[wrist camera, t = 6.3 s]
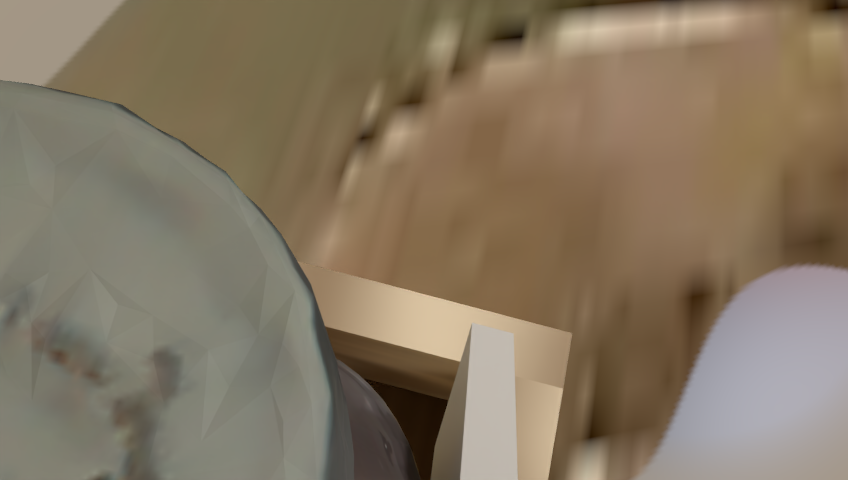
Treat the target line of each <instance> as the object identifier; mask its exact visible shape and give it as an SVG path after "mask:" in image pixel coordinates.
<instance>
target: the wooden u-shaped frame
mask: <svg viewBox="0 0 848 480" xmlns="http://www.w3.org/2000/svg"><path fill="white" fill-rule="evenodd" d="M297 262H298V263H299V265H300V267H301V268H302V270H303V272H304V273H305V275H306V277H307V278H308V280H309V282H310V283H311V286H312V289H313V292H314V295H315V298H316V301H317V304H318V307H319V310H320V313H321V316H322V319H323V322H324V325H325V328H326V331H327V334H328V337H329V340H330V343H331V346H332V349H333V351H334V354H335V357H336V359H338V360H340V361H341V362H343V363H344V364H345V365H347V366H348V367H349V368H351V369H352V370H353V371H355V372H356V373H357V374H359V375H360V376H361V377H362V378H365V379H368V380H372V381H376V382H380V383H384V384H387V385H391V386H395V387H399V388H403V389H407V390H410V391H414V392H418V393H422V394H426V395H430V396H433V397H437V398H441V399H445V400H449V397H450V394H451V391H452V387H453V384H454V381H455V378H456V374H457V371H458V368H459V364H460V361H461V358H462V354H463V351H464V348H465V344H466V341H467V338H468V335H469V331H470V328H471V325H472V323H475V324H479V325H483V326H487V327H491V328H495V329H499V330H502V331H506V332H510V333H514V363H515V399H516V435H517V470H518V480H548V476H549V470H550V464H551V458H552V452H553V446H554V440H555V434H556V428H557V422H558V416H559V410H560V404H561V398H562V392H563V386H564V380H565V374H566V368H567V362H568V356H569V350H570V344H571V338H572V333H569V332H565V331H561V330H558V329H554V328H550V327H546V326H542V325H539V324H535V323H531V322H527V321H523V320H520V319H516V318H512V317H508V316H504V315H501V314H497V313H493V312H489V311H485V310H482V309H478V308H474V307H470V306H466V305H463V304H459V303H455V302H451V301H447V300H444V299H440V298H436V297H432V296H428V295H425V294H421V293H417V292H413V291H409V290H406V289H402V288H398V287H394V286H390V285H387V284H383V283H379V282H375V281H371V280H367V279H364V278H360V277H356V276H352V275H348V274H345V273H341V272H337V271H333V270H329V269H326V268H322V267H318V266H314V265H310V264H307V263H303V262H299V261H297Z"/></svg>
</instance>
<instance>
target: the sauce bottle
mask: <svg viewBox="0 0 848 480" xmlns="http://www.w3.org/2000/svg"><path fill="white" fill-rule="evenodd" d="M0 480H421V478H420V475H419V472H418V468H417V465H416V462H415V459H414V456H413V453H412V450H411V447H410V444H409V442H408V440H407V439H406V437H405V435H404V433H403V431H402V429H401V427H400V425H399V423H398V421H397V420H396V418H395V417H394V415H393V414H392V412H391V411H390V409H389V408H388V406H387V405H386V403H385V402H384V401H383V399H382V398H381V397H380V396H379V395H378V394H377V393H376V391H375V390H374V389H373V388H372V387H371V386H370V385H369V384H368V383H367V382H366V381H365V380H364V379H363V378H362V377H361V376H360V375H359V374H357V373H356V372H355V371H353V370H352V369H351V368H349V367H348V366H347V365H345V364H344V363H343V362H341V361H340V360H338V359H336V357H335V354H334V351H333V349H332V346H331V343H330V340H329V337H328V334H327V331H326V328H325V325H324V322H323V319H322V316H321V313H320V310H319V307H318V304H317V301H316V298H315V295H314V292H313V289H312V286H311V283H310V282H309V280H308V278H307V277H306V275H305V273H304V272H303V270H302V268H301V267H300V265H299V263H298V262H297V260H296V258H295V257H294V255H293V253H292V252H291V250H290V248H289V247H288V245H287V243H286V242H285V240H284V238H283V237H282V235H281V233H280V232H279V231H278V230H277V228H276V227H275V226H274V225H273V223H272V222H271V221H270V220H269V218H268V217H267V216H266V215H265V214H264V212H263V211H262V210H261V209H260V208H259V207H258V206H257V205H256V204H255V203H254V202H253V201H251V200H250V199H249V198H248V197H247V196H246V195H245V194H244V193H242V191H241V190H240V189H239V188H238V186H237V185H236V184H235V183H234V181H233V180H232V179H231V178H230V176H229V175H228V174H227V173H226V171H224V170H222V169H221V168H219V167H218V166H216V165H215V164H213V163H212V162H210V161H209V160H207V159H206V158H204V157H203V156H202V155H200V154H199V153H198V152H196V151H195V150H194V149H192V148H191V147H190V146H188V145H187V144H186V143H184V142H182V141H181V140H179V139H177V138H175V137H173V136H171V135H169V134H167V133H165V132H163V131H161V130H159V129H157V128H155V127H154V126H152V125H151V124H149V123H148V122H146V121H145V120H143V119H142V118H141V117H139V116H138V115H136V114H135V113H133V112H132V111H130V110H129V109H127V108H126V107H124V106H123V105H121V104H117V103H113V102H108V101H104V100H100V99H96V98H91V97H87V96H83V95H79V94H74V93H70V92H66V91H61V90H56V89H52V88H47V87H42V86H37V85H33V84H27V83H19V82H11V81H3V80H0Z"/></svg>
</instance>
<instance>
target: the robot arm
mask: <svg viewBox="0 0 848 480" xmlns="http://www.w3.org/2000/svg"><path fill="white" fill-rule="evenodd" d="M431 480H518V470H517V435H516V399H515V363H514V333H510V332H506V331H502V330H499V329H495V328H491V327H487V326H483V325H479V324H475V323H472V325H471V328H470V331H469V335H468V338H467V341H466V344H465V348H464V351H463V354H462V358H461V361H460V364H459V368H458V371H457V374H456V378H455V381H454V384H453V387H452V391H451V394H450V397H449V401H448V404H447V407H446V411H445V414H444V417H443V421H442V424H441V427H440V430H439V434H438V437H437V440H436V444H435V449H434V457H433V465H432V472H431Z"/></svg>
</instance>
